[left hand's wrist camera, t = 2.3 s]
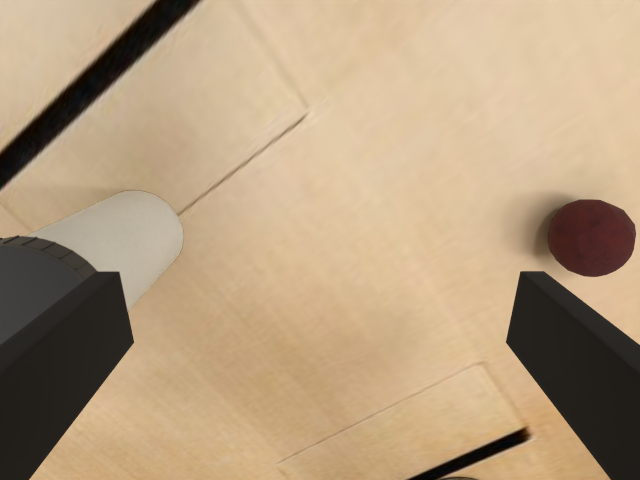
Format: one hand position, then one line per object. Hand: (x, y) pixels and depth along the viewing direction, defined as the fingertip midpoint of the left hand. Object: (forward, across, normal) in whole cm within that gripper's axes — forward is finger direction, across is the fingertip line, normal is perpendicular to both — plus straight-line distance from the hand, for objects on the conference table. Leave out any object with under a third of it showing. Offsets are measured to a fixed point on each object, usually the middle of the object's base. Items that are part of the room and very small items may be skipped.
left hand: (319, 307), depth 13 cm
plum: (+28, +27, -6) cm, 39 cm away
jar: (+28, -20, -7) cm, 35 cm away
